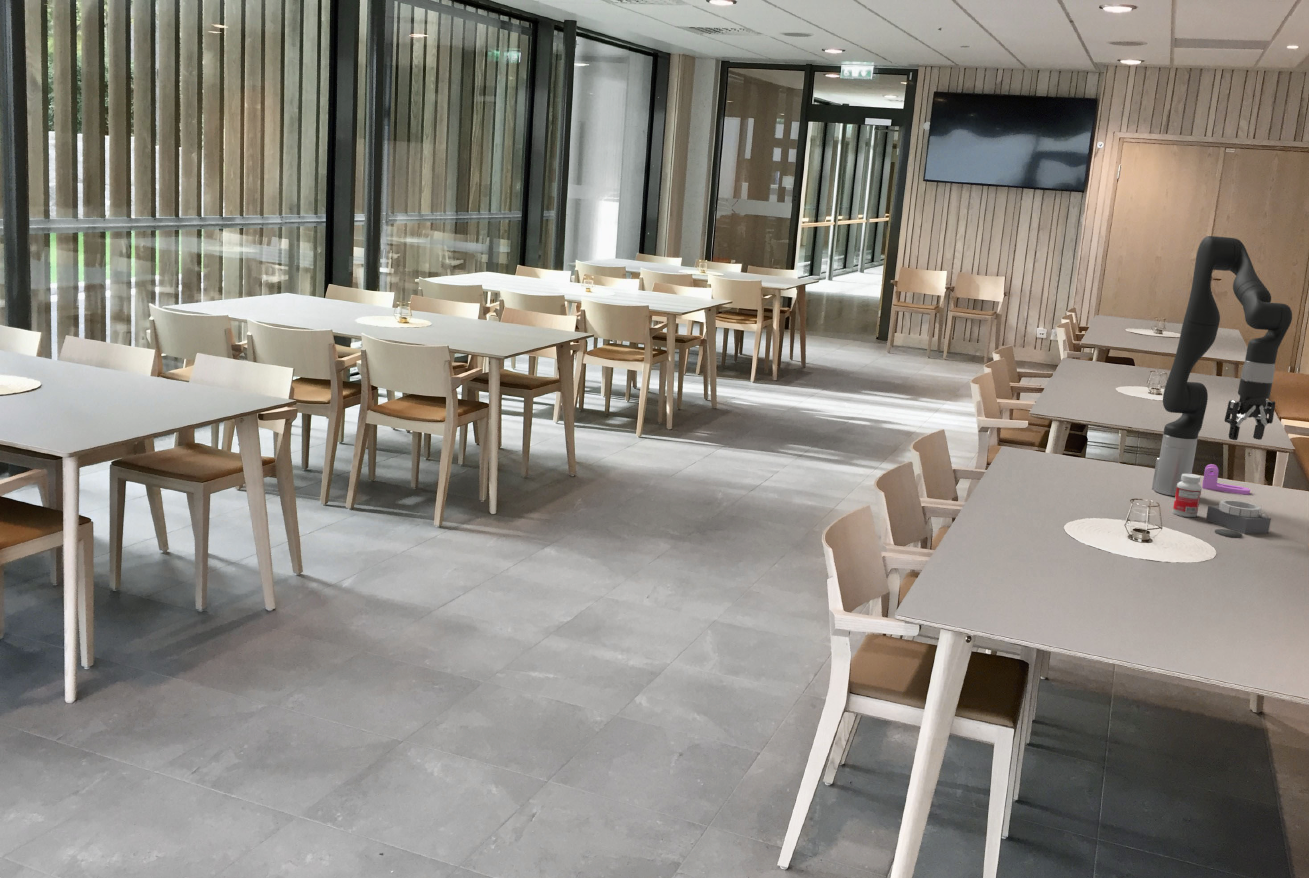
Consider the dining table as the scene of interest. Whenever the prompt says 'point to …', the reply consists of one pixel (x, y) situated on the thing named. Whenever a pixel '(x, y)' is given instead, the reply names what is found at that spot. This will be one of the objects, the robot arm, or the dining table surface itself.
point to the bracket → (1212, 484)
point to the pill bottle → (1187, 496)
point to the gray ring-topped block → (1239, 517)
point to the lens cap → (1228, 533)
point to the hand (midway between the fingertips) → (1245, 439)
